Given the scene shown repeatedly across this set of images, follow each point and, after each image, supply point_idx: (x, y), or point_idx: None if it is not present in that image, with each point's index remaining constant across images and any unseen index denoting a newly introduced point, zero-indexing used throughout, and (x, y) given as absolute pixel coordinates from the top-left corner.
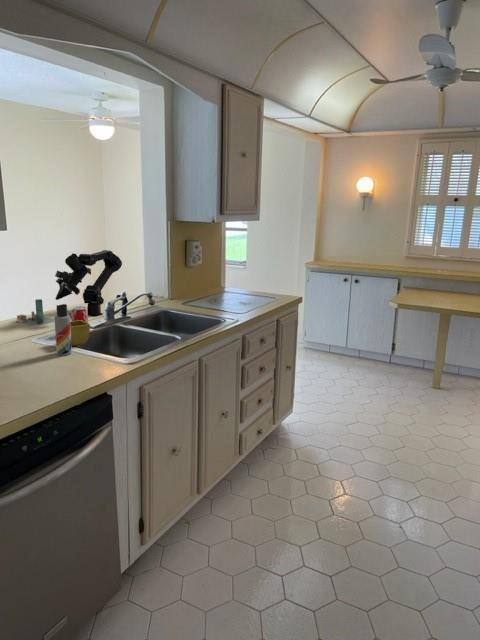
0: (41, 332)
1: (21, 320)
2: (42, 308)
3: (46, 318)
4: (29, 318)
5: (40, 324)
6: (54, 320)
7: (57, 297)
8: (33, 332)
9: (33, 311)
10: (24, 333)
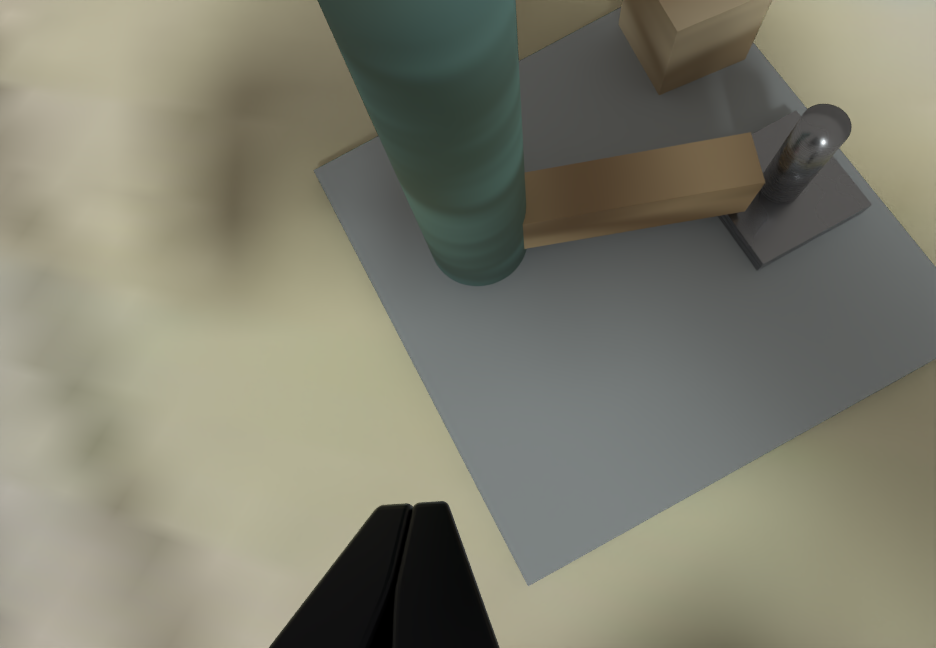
0: (53, 188)
1: (627, 9)
2: (406, 170)
3: (744, 386)
4: (764, 130)
5: (388, 230)
6: (542, 474)
7: (342, 584)
8: (107, 109)
9: (845, 139)
10: (125, 22)
